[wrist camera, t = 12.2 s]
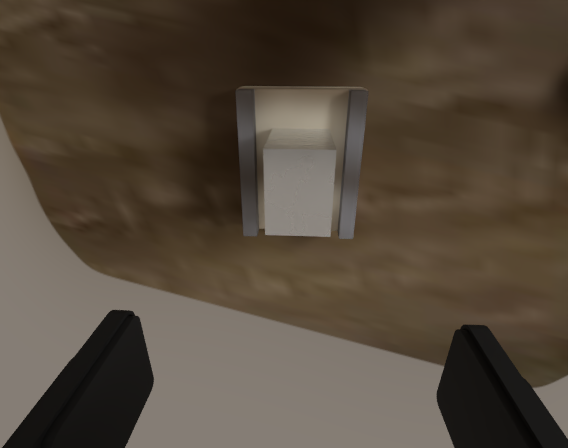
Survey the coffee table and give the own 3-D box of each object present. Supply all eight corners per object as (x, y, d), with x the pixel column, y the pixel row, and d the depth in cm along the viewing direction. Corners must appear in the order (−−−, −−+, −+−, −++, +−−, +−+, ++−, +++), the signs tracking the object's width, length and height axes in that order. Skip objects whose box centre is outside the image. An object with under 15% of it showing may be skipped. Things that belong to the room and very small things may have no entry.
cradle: (242, 86, 29) (232, 90, 25) (361, 86, 28) (371, 91, 24) (248, 214, 34) (241, 235, 30) (349, 217, 33) (355, 239, 29)
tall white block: (272, 128, 27) (263, 148, 21) (329, 129, 27) (336, 149, 21) (273, 201, 30) (265, 238, 24) (324, 202, 30) (330, 240, 23)
